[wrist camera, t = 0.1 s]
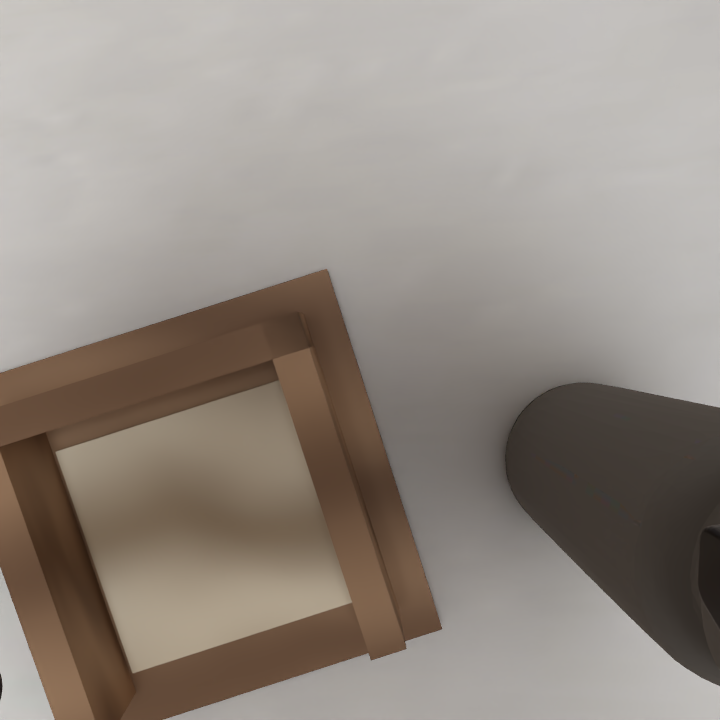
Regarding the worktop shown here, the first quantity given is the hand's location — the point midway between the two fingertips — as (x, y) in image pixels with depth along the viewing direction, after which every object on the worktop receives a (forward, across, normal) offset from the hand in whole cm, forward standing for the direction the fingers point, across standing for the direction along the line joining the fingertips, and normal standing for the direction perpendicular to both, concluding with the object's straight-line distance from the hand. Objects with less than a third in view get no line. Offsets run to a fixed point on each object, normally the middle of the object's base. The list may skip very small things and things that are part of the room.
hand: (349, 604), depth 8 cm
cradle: (+14, +6, +6) cm, 17 cm away
